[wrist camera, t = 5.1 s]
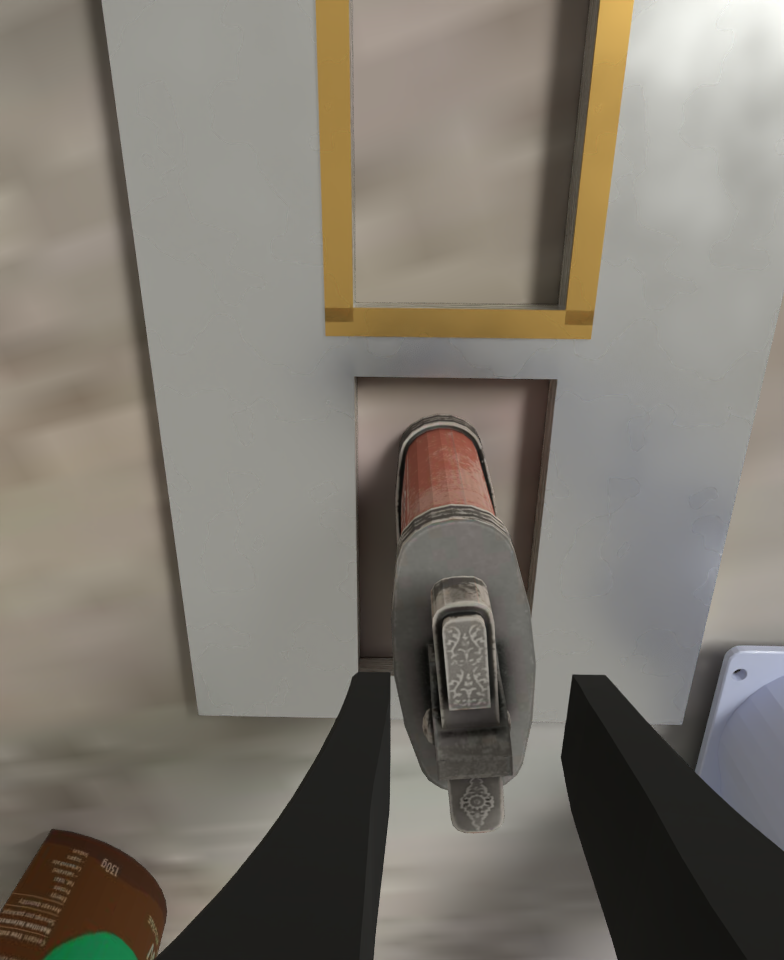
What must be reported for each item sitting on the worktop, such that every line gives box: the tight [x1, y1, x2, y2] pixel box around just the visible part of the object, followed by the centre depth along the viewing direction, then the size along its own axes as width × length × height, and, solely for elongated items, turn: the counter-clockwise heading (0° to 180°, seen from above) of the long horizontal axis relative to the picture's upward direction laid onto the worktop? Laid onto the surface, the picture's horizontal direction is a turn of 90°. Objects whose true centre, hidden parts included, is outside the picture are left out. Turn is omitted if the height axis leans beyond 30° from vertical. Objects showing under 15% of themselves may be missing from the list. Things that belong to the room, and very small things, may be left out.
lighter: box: [391, 414, 536, 833], centre depth 18 cm, size 8×3×10 cm, turn 6°
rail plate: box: [102, 0, 784, 725], centre depth 19 cm, size 28×18×1 cm, turn 179°
